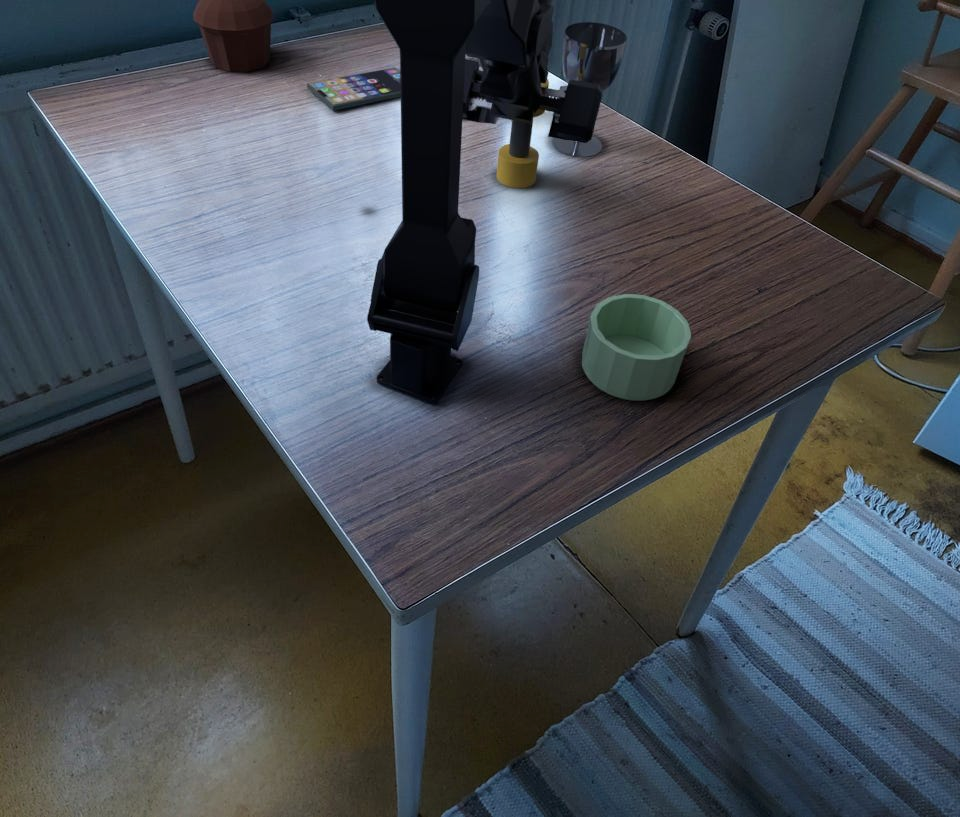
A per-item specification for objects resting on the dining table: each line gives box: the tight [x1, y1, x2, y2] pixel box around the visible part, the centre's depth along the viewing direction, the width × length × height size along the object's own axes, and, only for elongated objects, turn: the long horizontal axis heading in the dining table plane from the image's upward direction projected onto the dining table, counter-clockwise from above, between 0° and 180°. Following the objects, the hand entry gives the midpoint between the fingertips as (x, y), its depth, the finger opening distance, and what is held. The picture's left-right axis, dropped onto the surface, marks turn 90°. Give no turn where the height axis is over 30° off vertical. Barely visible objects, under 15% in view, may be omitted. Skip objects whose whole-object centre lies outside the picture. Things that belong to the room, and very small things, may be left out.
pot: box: [581, 293, 692, 402], centre depth 77 cm, size 10×10×6 cm
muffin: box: [192, 0, 275, 73], centre depth 118 cm, size 12×11×10 cm
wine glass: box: [551, 21, 628, 158], centre depth 105 cm, size 8×8×15 cm
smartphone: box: [306, 67, 401, 111], centre depth 117 cm, size 8×15×1 cm, turn 125°
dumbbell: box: [495, 78, 550, 189], centre depth 98 cm, size 5×5×13 cm
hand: (524, 125), depth 99 cm, fingers open, 7 cm apart
